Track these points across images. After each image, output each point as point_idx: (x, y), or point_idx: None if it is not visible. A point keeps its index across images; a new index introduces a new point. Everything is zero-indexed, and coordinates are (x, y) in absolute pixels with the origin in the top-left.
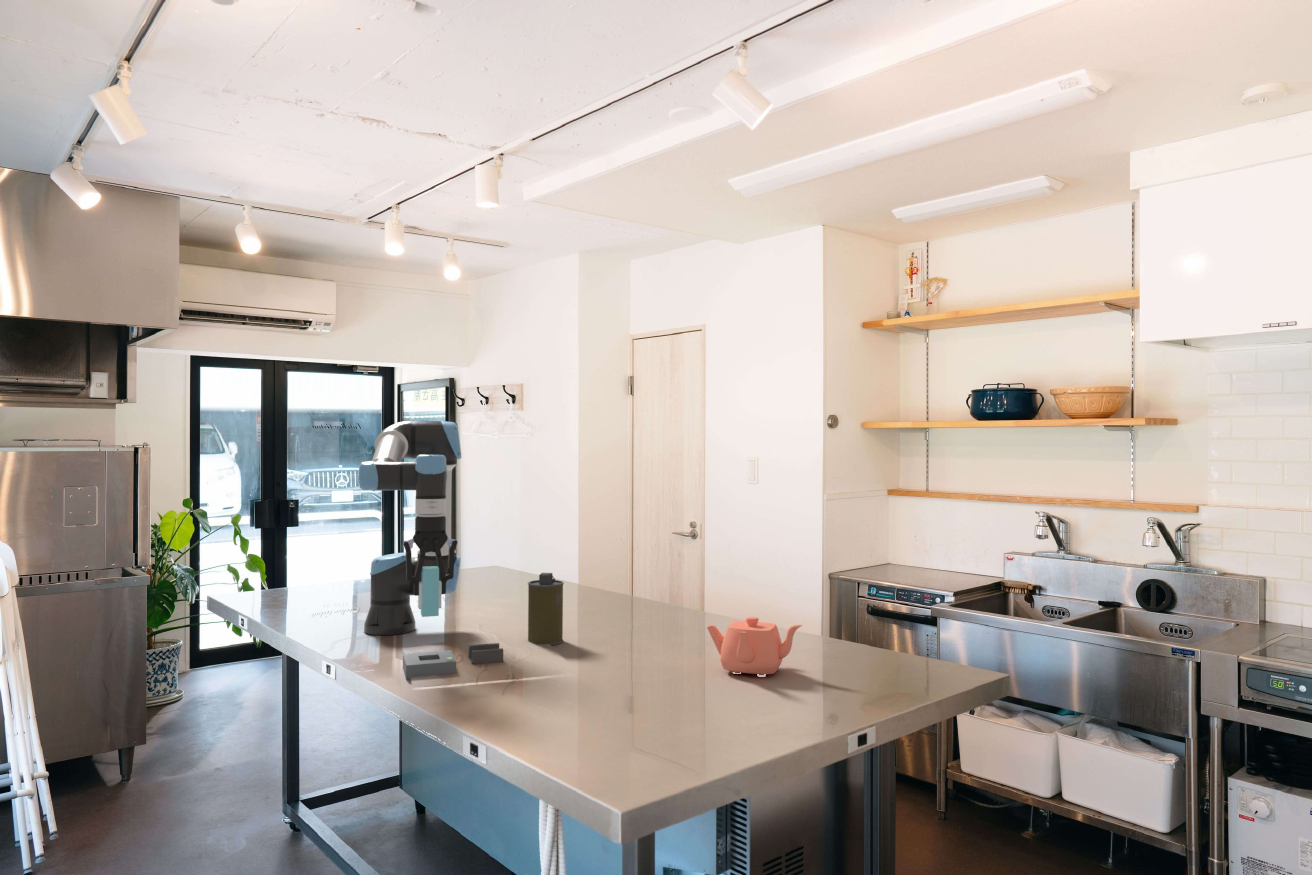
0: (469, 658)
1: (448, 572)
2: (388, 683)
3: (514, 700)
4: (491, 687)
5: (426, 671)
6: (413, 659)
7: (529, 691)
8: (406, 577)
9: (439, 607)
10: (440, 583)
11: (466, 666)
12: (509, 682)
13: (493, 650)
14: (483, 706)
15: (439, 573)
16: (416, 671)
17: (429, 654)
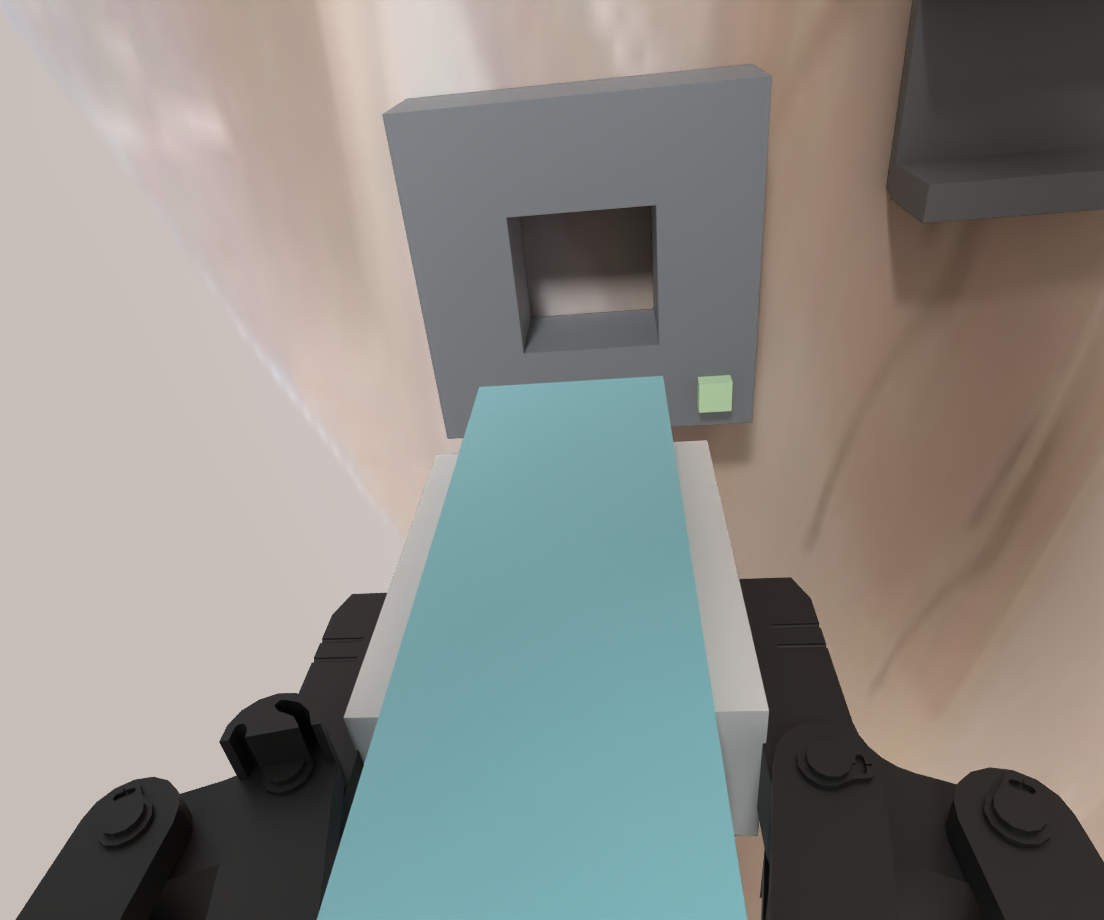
0: (921, 2)
1: (997, 915)
2: (379, 437)
3: (891, 745)
4: (860, 601)
5: None
6: (480, 310)
7: (994, 679)
8: (95, 839)
9: None
10: (735, 817)
11: (845, 184)
12: (969, 556)
13: (1098, 209)
14: None
15: (768, 898)
16: None
17: (590, 189)
